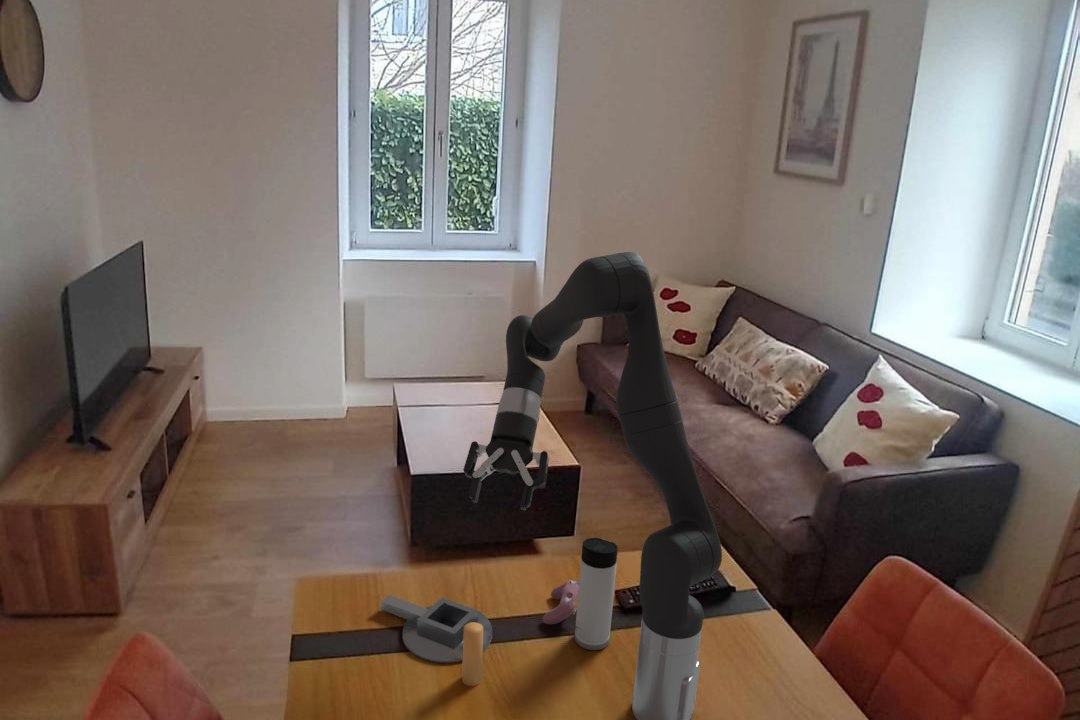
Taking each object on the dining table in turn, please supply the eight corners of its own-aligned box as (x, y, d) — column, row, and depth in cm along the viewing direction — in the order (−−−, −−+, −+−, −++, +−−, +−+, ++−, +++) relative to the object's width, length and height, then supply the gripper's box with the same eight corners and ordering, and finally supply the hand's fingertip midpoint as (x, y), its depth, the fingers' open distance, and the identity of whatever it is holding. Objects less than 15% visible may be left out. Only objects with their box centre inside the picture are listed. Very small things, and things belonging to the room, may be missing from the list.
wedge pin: (484, 677, 137) (487, 626, 134) (474, 688, 135) (476, 636, 132) (468, 670, 139) (470, 620, 136) (458, 681, 136) (459, 630, 133)
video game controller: (560, 635, 152) (580, 609, 149) (539, 622, 152) (558, 596, 149) (569, 605, 161) (587, 580, 159) (549, 592, 161) (567, 567, 159)
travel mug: (567, 644, 147) (575, 545, 141) (583, 625, 153) (591, 529, 146) (599, 656, 144) (609, 556, 138) (614, 636, 150) (624, 539, 144)
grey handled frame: (508, 625, 151) (509, 606, 150) (461, 675, 138) (462, 655, 136) (410, 588, 160) (410, 571, 159) (357, 632, 147) (357, 613, 146)
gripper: (475, 404, 145) (453, 492, 137) (554, 415, 142) (537, 504, 135) (481, 421, 151) (462, 506, 144) (557, 431, 149) (541, 518, 142)
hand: (498, 505), depth 140 cm, fingers open, 8 cm apart
